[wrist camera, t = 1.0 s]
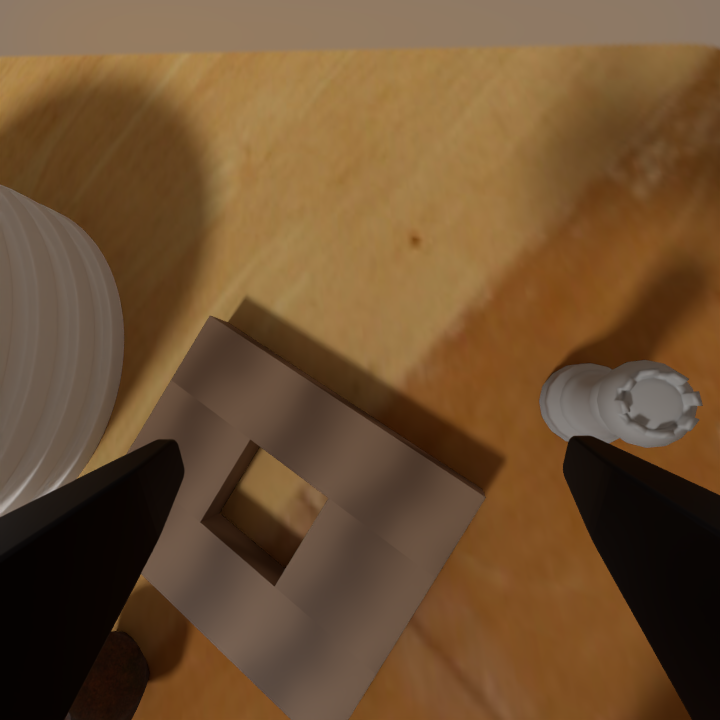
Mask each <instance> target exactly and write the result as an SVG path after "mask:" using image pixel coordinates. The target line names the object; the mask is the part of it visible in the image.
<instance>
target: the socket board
mask: <svg viewBox="0 0 720 720" xmlns="http://www.w3.org/2000/svg"><path fill="white" fill-rule="evenodd" d="M158 439H174V440H176V441H177V443H178V445H179V448H180V452H181V456H182V460H183V464H184V469H185V473H184V478H183V481H182V483H181V486H180V488H179V491H178V493H177V496H176V498H175V501H174V503H173V506H172V508H171V511H170V513H169V516H168V518H167V521H166V523H165V526H164V528H163V531H162V533H161V535H160V538H159V540H158V542H157V544H156V546H155V548H154V550H153V552H152V554H151V556H150V558H149V559H148V561H147V563H146V565H145V567H144V569H143V571H142V573H141V574H142V575H143V576H144V577H145V578H146V579H147V580H148V581H149V582H150V583H151V584H152V585H153V586H154V587H155V588H156V589H157V590H158V591H159V592H160V593H161V594H162V595H163V596H164V597H165V598H166V599H167V600H168V601H169V602H170V603H172V604H173V605H174V606H175V607H176V608H177V609H178V610H179V611H180V612H181V613H182V614H183V615H184V616H185V617H186V618H187V619H188V620H189V621H190V622H191V623H192V624H193V625H194V626H195V627H196V628H197V629H198V630H199V631H200V632H201V633H202V634H203V635H205V636H206V637H207V638H208V639H209V640H210V641H211V642H212V643H213V644H214V645H215V646H216V647H217V648H218V649H219V650H220V651H221V652H222V653H223V654H224V655H225V656H226V657H227V658H228V659H229V660H230V661H231V662H232V663H233V664H234V665H235V666H236V667H238V668H239V669H240V670H241V671H242V672H243V673H244V674H245V675H246V676H247V677H248V678H249V679H250V680H251V681H252V682H253V683H254V684H255V685H256V686H257V687H258V688H259V689H260V690H261V691H262V692H263V693H264V694H265V695H266V696H267V697H268V698H269V699H271V700H272V701H273V702H274V703H275V704H276V705H277V706H278V707H279V708H280V709H281V710H282V711H283V712H284V713H285V714H286V715H287V716H288V717H289V718H290V719H291V720H348V719H349V718H350V716H351V714H352V713H353V711H354V710H355V708H356V706H357V705H358V703H359V702H360V700H361V698H362V697H363V695H364V693H365V692H366V690H367V689H368V687H369V685H370V684H371V682H372V681H373V679H374V677H375V676H376V674H377V672H378V671H379V669H380V668H381V666H382V664H383V663H384V661H385V659H386V658H387V656H388V655H389V653H390V651H391V650H392V648H393V647H394V645H395V643H396V642H397V640H398V638H399V637H400V635H401V634H402V632H403V630H404V629H405V627H406V626H407V624H408V622H409V621H410V619H411V617H412V616H413V614H414V613H415V611H416V609H417V608H418V606H419V605H420V603H421V601H422V600H423V598H424V596H425V595H426V593H427V592H428V590H429V588H430V587H431V585H432V584H433V582H434V580H435V579H436V577H437V575H438V574H439V572H440V571H441V569H442V567H443V566H444V564H445V563H446V561H447V559H448V558H449V556H450V554H451V553H452V551H453V550H454V548H455V546H456V545H457V543H458V542H459V540H460V538H461V537H462V535H463V533H464V532H465V530H466V529H467V527H468V525H469V524H470V522H471V521H472V519H473V517H474V516H475V514H476V512H477V511H478V509H479V508H480V506H481V504H482V503H483V501H484V500H485V498H486V497H485V495H484V492H483V490H482V489H481V488H480V487H478V486H477V485H475V484H473V483H472V482H470V481H469V480H467V479H466V478H464V477H463V476H461V475H460V474H458V473H457V472H455V471H454V470H452V469H451V468H449V467H448V466H446V465H445V464H443V463H441V462H440V461H438V460H437V459H435V458H434V457H432V456H431V455H429V454H428V453H426V452H425V451H423V450H422V449H420V448H419V447H417V446H416V445H414V444H412V443H411V442H409V441H408V440H406V439H405V438H403V437H402V436H400V435H399V434H397V433H396V432H394V431H393V430H391V429H390V428H388V427H387V426H385V425H383V424H382V423H380V422H379V421H377V420H376V419H374V418H373V417H371V416H370V415H368V414H367V413H365V412H364V411H362V410H361V409H359V408H358V407H356V406H354V405H353V404H351V403H350V402H348V401H347V400H345V399H344V398H342V397H341V396H339V395H338V394H336V393H335V392H333V391H332V390H330V389H329V388H327V387H325V386H324V385H322V384H321V383H319V382H318V381H316V380H315V379H313V378H312V377H310V376H309V375H307V374H306V373H304V372H303V371H301V370H300V369H298V368H297V367H295V366H293V365H292V364H290V363H289V362H287V361H286V360H284V359H283V358H281V357H280V356H278V355H277V354H275V353H274V352H272V351H271V350H269V349H268V348H266V347H264V346H263V345H261V344H260V343H258V342H257V341H255V340H254V339H252V338H251V337H249V336H248V335H246V334H245V333H243V332H242V331H240V330H239V329H237V328H235V327H234V326H232V325H231V324H229V323H228V322H226V321H223V320H220V319H218V318H215V317H213V316H209V318H208V319H207V321H206V323H205V324H204V326H203V328H202V329H201V331H200V333H199V334H198V336H197V338H196V339H195V341H194V343H193V344H192V346H191V348H190V349H189V351H188V353H187V354H186V356H185V358H184V359H183V361H182V363H181V364H180V366H179V368H178V369H177V371H176V373H175V374H174V376H173V378H172V379H171V381H170V383H169V384H168V386H167V388H166V389H165V391H164V393H163V394H162V396H161V398H160V399H159V401H158V403H157V404H156V406H155V408H154V409H153V411H152V413H151V414H150V416H149V418H148V419H147V421H146V423H145V424H144V426H143V428H142V429H141V431H140V433H139V434H138V436H137V438H136V439H135V441H134V443H133V444H132V446H131V448H130V449H129V451H128V453H130V452H132V451H134V450H136V449H138V448H140V447H142V446H144V445H146V444H148V443H151V442H153V441H155V440H158ZM259 447H261V448H262V449H264V450H265V451H266V452H268V453H269V454H270V455H272V456H273V457H274V458H276V459H277V460H278V461H280V462H281V463H282V464H284V465H285V466H286V467H288V468H289V469H290V470H292V471H293V472H294V473H296V474H297V475H298V476H300V477H301V478H302V479H304V480H305V481H306V482H308V483H309V484H310V485H312V486H313V487H314V488H316V489H317V490H318V491H320V492H321V493H322V494H324V495H325V496H326V497H328V500H327V502H326V503H325V505H324V507H323V508H322V510H321V511H320V513H319V515H318V516H317V518H316V520H315V521H314V523H313V525H312V526H311V528H310V529H309V531H308V533H307V534H306V536H305V538H304V539H303V541H302V543H301V544H300V546H299V547H298V549H297V551H296V552H295V554H294V556H293V557H292V559H291V561H290V562H289V564H288V565H287V567H286V569H285V568H284V567H283V566H281V565H280V564H279V563H278V562H277V561H275V560H274V559H273V558H272V557H271V556H270V555H268V554H267V553H266V552H265V551H264V550H262V549H261V548H260V547H259V546H258V545H256V544H255V543H254V542H253V541H252V540H251V539H249V538H248V537H247V536H246V535H245V534H243V533H242V532H241V531H240V530H239V529H237V528H236V527H235V526H234V525H233V524H231V523H230V522H229V521H228V520H227V519H226V518H224V517H223V516H222V515H221V514H220V511H221V509H222V508H223V506H224V504H225V503H226V501H227V499H228V498H229V496H230V495H231V493H232V491H233V490H234V488H235V486H236V485H237V483H238V481H239V480H240V478H241V476H242V475H243V473H244V471H245V470H246V468H247V467H248V465H249V463H250V462H251V460H252V458H253V457H254V455H255V453H256V452H257V450H258V448H259ZM128 453H127V454H128Z"/></svg>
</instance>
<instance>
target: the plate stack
mask: <svg viewBox="0 0 720 720" xmlns="http://www.w3.org/2000/svg"><path fill="white" fill-rule="evenodd" d="M123 356H124V324H123V314H122V307H121V302H120V297H119V293H118V289H117V286H116V283H115V280H114V277H113V274H112V272H111V269H110V267H109V265H108V263H107V261H106V259H105V257H104V255H103V254H102V252H101V251H100V249H99V248H98V246H97V245H96V243H95V242H94V241H93V240H92V238H91V237H90V236H89V235H88V234H87V233H86V232H85V231H84V230H83V229H82V228H81V227H80V226H79V225H77V224H76V223H75V222H74V221H72V220H71V219H69V218H68V217H66V216H64V215H62V214H60V213H58V212H56V211H54V210H52V209H50V208H48V207H46V206H44V205H42V204H39V203H37V202H36V201H34V200H32V199H30V198H28V197H26V196H24V195H22V194H20V193H18V192H16V191H14V190H12V189H10V188H8V187H5V186H3V185H0V517H1V516H3V515H5V514H7V513H9V512H11V511H13V510H15V509H17V508H19V507H21V506H23V505H25V504H27V503H29V502H31V501H33V500H35V499H38V498H40V497H42V496H44V495H46V494H48V493H50V492H52V491H54V490H56V489H58V488H60V487H62V486H64V485H66V484H68V483H70V482H72V481H74V480H76V478H77V477H78V476H79V475H80V473H81V472H82V470H83V469H84V468H85V466H86V465H87V463H88V461H89V460H90V458H91V457H92V455H93V453H94V451H95V450H96V448H97V446H98V444H99V442H100V440H101V438H102V436H103V434H104V431H105V429H106V427H107V424H108V422H109V419H110V416H111V413H112V411H113V407H114V404H115V401H116V397H117V393H118V389H119V384H120V379H121V373H122V366H123Z"/></svg>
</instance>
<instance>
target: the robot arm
mask: <svg viewBox="0 0 720 720" xmlns="http://www.w3.org/2000/svg"><path fill="white" fill-rule="evenodd" d="M184 473H185V469H184V464H183V460H182V456H181V452H180V448H179V445H178V443H177V441H176V440H174V439H158V440H155V441H153V442H151V443H148V444H146V445H144V446H142V447H140V448H138V449H136V450H134V451H132V452H130V453H128V454H126V455H124V456H122V457H120V458H118V459H116V460H114V461H112V462H110V463H108V464H106V465H104V466H102V467H100V468H98V469H96V470H94V471H92V472H90V473H88V474H86V475H84V476H82V477H80V478H78V479H76V480H74V481H72V482H70V483H68V484H66V485H64V486H62V487H60V488H58V489H56V490H54V491H52V492H50V493H48V494H46V495H44V496H42V497H40V498H38V499H35V500H33V501H31V502H29V503H27V504H25V505H23V506H21V507H19V508H17V509H15V510H13V511H11V512H9V513H7V514H5V515H3V516H1V517H0V720H65V718H66V716H67V714H68V712H69V711H70V709H71V707H72V705H73V703H74V701H75V699H76V697H77V695H78V693H79V691H80V690H81V688H82V686H83V684H84V682H85V680H86V678H87V676H88V674H89V672H90V670H91V668H92V667H93V665H94V663H95V661H96V659H97V657H98V655H99V653H100V651H101V649H102V647H103V646H104V644H105V642H106V640H107V638H108V636H109V634H110V632H111V630H112V628H113V626H114V624H115V623H116V621H117V619H118V617H119V615H120V613H121V611H122V609H123V607H124V605H125V603H126V602H127V600H128V598H129V596H130V594H131V592H132V590H133V588H134V586H135V584H136V582H137V580H138V579H139V577H140V575H141V573H142V571H143V569H144V567H145V565H146V563H147V561H148V559H149V558H150V556H151V554H152V552H153V550H154V548H155V546H156V544H157V542H158V540H159V538H160V535H161V533H162V531H163V528H164V526H165V523H166V521H167V518H168V516H169V513H170V511H171V508H172V506H173V503H174V501H175V498H176V496H177V493H178V491H179V488H180V486H181V483H182V481H183V478H184ZM563 473H564V477H565V479H566V481H567V484H568V486H569V488H570V491H571V493H572V495H573V498H574V500H575V502H576V505H577V507H578V509H579V512H580V514H581V516H582V519H583V521H584V523H585V526H586V528H587V530H588V532H589V534H590V537H591V539H592V541H593V543H594V544H595V546H596V548H597V550H598V552H599V554H600V556H601V557H602V559H603V561H604V563H605V564H606V566H607V568H608V570H609V572H610V573H611V575H612V577H613V579H614V581H615V582H616V584H617V586H618V588H619V590H620V591H621V593H622V595H623V597H624V599H625V600H626V602H627V604H628V606H629V608H630V609H631V611H632V613H633V615H634V617H635V618H636V620H637V622H638V624H639V626H640V627H641V629H642V631H643V633H644V634H645V636H646V638H647V640H648V642H649V643H650V645H651V647H652V649H653V651H654V652H655V654H656V656H657V658H658V660H659V661H660V663H661V665H662V667H663V669H664V670H665V672H666V674H667V676H668V678H669V679H670V681H671V683H672V685H673V687H674V688H675V690H676V692H677V694H678V695H679V697H680V699H681V701H682V703H683V704H684V706H685V708H686V710H687V712H688V713H689V715H690V717H691V719H692V720H720V495H718V494H716V493H714V492H712V491H710V490H707V489H705V488H703V487H701V486H699V485H697V484H695V483H692V482H690V481H688V480H686V479H684V478H682V477H679V476H677V475H675V474H673V473H671V472H669V471H667V470H664V469H662V468H660V467H658V466H656V465H654V464H651V463H649V462H647V461H645V460H643V459H641V458H639V457H636V456H634V455H632V454H630V453H628V452H626V451H623V450H621V449H619V448H617V447H615V446H613V445H611V444H608V443H606V442H604V441H602V440H600V439H598V438H595V437H593V436H589V435H587V436H572V437H571V438H570V439H569V442H568V446H567V450H566V454H565V459H564V463H563Z"/></svg>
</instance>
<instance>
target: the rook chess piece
mask: <svg viewBox="0 0 720 720" xmlns="http://www.w3.org/2000/svg"><path fill="white" fill-rule="evenodd" d="M688 380H689V379H688V378H687V377H685V376H683V375H682V374H680V373H678V372H677V371H675V370H674V369H672V368H670V367H669V366H667V365H665V364H662V363H657V362H653V361H648V360H641V361H633V362H626V363H624V364H622V365H621V366H619V367H617V368H615V369H613V370H612V369H610V368H609V367H606V366H601V365H597V364H592V363H586V364H584V363H583V364H576V365H569V366H565V367H564V368H562V369H560V370H558V371H556V372H554V373H553V374H552V375H551V376H550V377H549V379H548V380H547V381H546V382H545V384H544V385H543V387H542V391H541V395H540V399H539V403H540V408H541V414H542V417H543V419H544V420H545V422H546V423H547V425H548V426H549V428H550V429H551V431H552V432H554V433H555V434H557V435H558V436H560V437H561V438H562V439H564V440H565V441H568V442H569V439H570V438H571V437H572V436H587V435H589V436H593V437H595V438H598V439H600V440H602V441H604V442H606V443H608V444H609V443H611V442H613V441H615V440H617V439H618V438H621V439H622V440H624V441H625V442H627V443H630V444H634V445H638V446H642V447H645V448H648V447H659V446H666V445H668V444H670V443H672V442H674V441H676V440H678V439H680V438H682V437H683V436H684V435H685V434H686V432H687V431H691V430H692V429H693V427H694V426H695V425H696V424H697V422H698V421H699V419H697V418H695V415H696V410H697V406H703V405H702V401H701V398H700V394H699V391H698V392H693V389H692V387H691V386H690V385H689V384H688V382H687V381H688Z"/></svg>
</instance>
